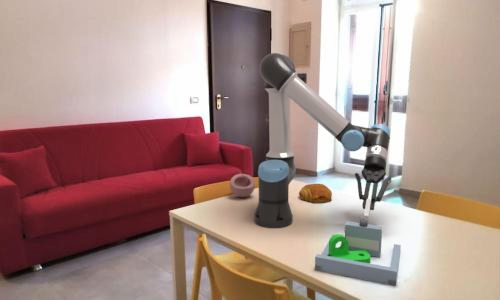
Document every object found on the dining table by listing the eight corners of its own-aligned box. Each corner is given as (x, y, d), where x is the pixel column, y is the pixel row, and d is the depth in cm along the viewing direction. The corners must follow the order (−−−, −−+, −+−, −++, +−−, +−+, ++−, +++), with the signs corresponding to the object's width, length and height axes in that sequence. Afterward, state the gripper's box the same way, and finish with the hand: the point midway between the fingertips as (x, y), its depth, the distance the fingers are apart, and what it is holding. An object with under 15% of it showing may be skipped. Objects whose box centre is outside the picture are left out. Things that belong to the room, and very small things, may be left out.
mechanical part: (336, 268, 109) (336, 242, 108) (328, 259, 115) (329, 234, 114) (373, 264, 111) (375, 239, 110) (364, 255, 117) (365, 231, 116)
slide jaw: (343, 251, 120) (345, 219, 118) (345, 247, 123) (346, 216, 121) (379, 257, 115) (381, 224, 113) (380, 253, 118) (382, 221, 116)
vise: (314, 269, 108) (315, 256, 108) (332, 238, 130) (332, 227, 129) (395, 285, 99) (396, 271, 99) (400, 249, 121) (401, 237, 120)
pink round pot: (232, 201, 172) (231, 177, 170) (228, 194, 183) (227, 171, 181) (257, 199, 174) (257, 175, 172) (252, 192, 186) (251, 170, 184)
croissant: (297, 199, 181) (295, 183, 180) (328, 193, 182) (326, 178, 181) (304, 208, 167) (302, 191, 166) (338, 202, 168) (336, 185, 167)
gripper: (356, 153, 139) (346, 209, 127) (394, 156, 134) (386, 215, 122) (358, 164, 145) (348, 219, 133) (394, 167, 139) (387, 225, 127)
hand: (366, 217), depth 127 cm, fingers closed
